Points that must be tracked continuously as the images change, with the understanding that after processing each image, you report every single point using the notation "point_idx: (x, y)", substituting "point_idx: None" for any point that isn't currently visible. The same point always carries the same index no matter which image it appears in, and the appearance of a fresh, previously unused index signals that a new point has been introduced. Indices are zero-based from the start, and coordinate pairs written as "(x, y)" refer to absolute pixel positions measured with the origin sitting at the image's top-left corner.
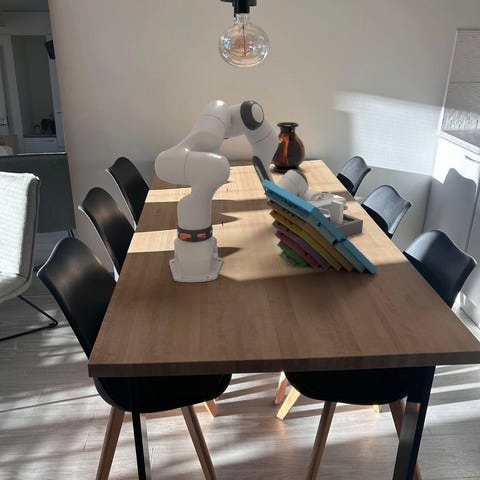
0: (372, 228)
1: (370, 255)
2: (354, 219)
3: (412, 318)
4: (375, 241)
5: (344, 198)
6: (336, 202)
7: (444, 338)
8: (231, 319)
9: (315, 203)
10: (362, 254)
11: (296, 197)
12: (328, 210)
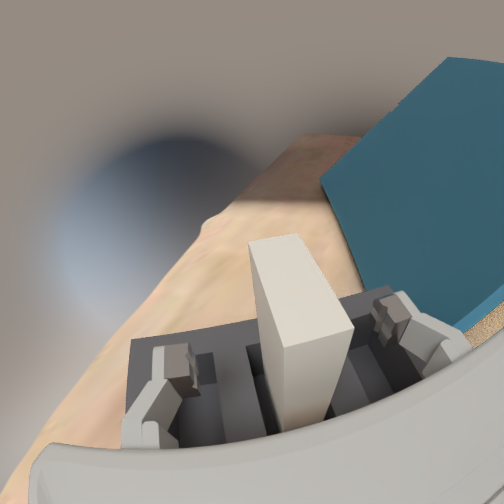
0: (89, 383)
1: (284, 228)
2: None
3: (333, 146)
4: (194, 287)
5: (39, 461)
6: (312, 268)
7: (322, 137)
8: None
9: (495, 431)
10: (357, 144)
11: (488, 63)
12: (394, 294)
